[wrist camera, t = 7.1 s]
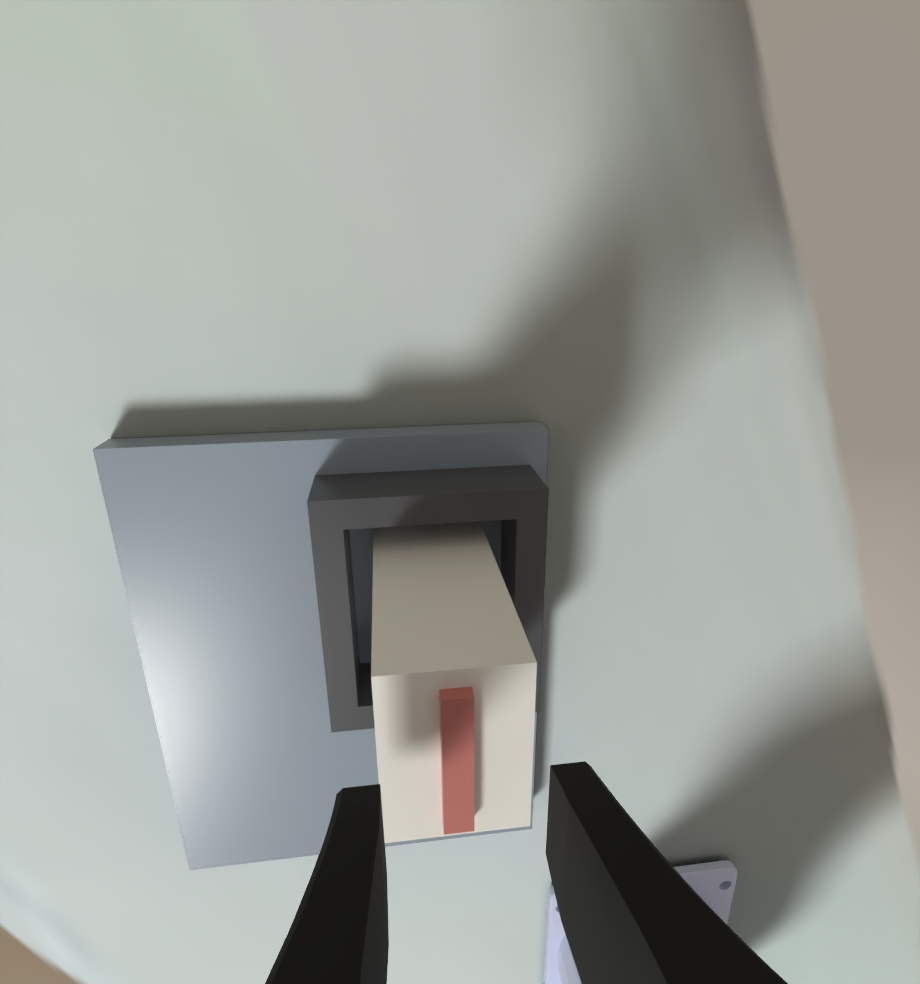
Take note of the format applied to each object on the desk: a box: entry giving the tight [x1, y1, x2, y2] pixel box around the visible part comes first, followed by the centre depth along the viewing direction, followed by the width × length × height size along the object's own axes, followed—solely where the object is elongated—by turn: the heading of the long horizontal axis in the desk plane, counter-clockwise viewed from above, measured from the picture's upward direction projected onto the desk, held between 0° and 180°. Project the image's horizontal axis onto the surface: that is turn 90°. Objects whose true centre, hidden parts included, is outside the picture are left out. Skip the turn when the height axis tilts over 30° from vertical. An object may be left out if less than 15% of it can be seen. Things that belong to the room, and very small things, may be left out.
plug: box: [371, 522, 537, 843], centre depth 15 cm, size 4×3×7 cm
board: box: [93, 421, 549, 870], centre depth 19 cm, size 15×12×2 cm
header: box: [307, 465, 549, 733], centre depth 17 cm, size 7×6×2 cm
